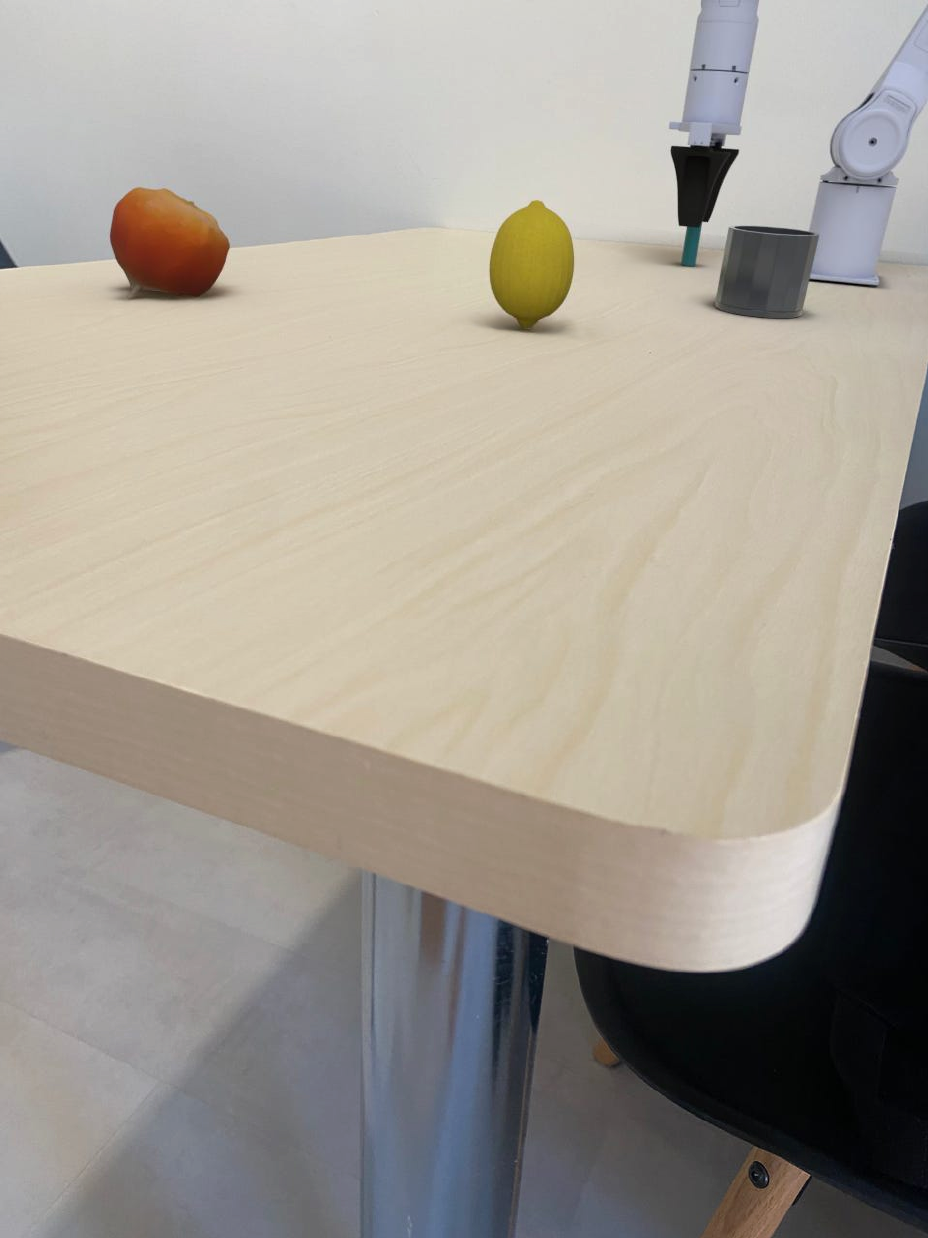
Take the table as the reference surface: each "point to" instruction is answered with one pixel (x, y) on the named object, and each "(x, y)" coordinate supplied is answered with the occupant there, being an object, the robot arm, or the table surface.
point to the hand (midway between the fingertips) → (693, 223)
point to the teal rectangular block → (691, 246)
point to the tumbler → (766, 271)
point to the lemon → (532, 264)
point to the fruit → (167, 243)
